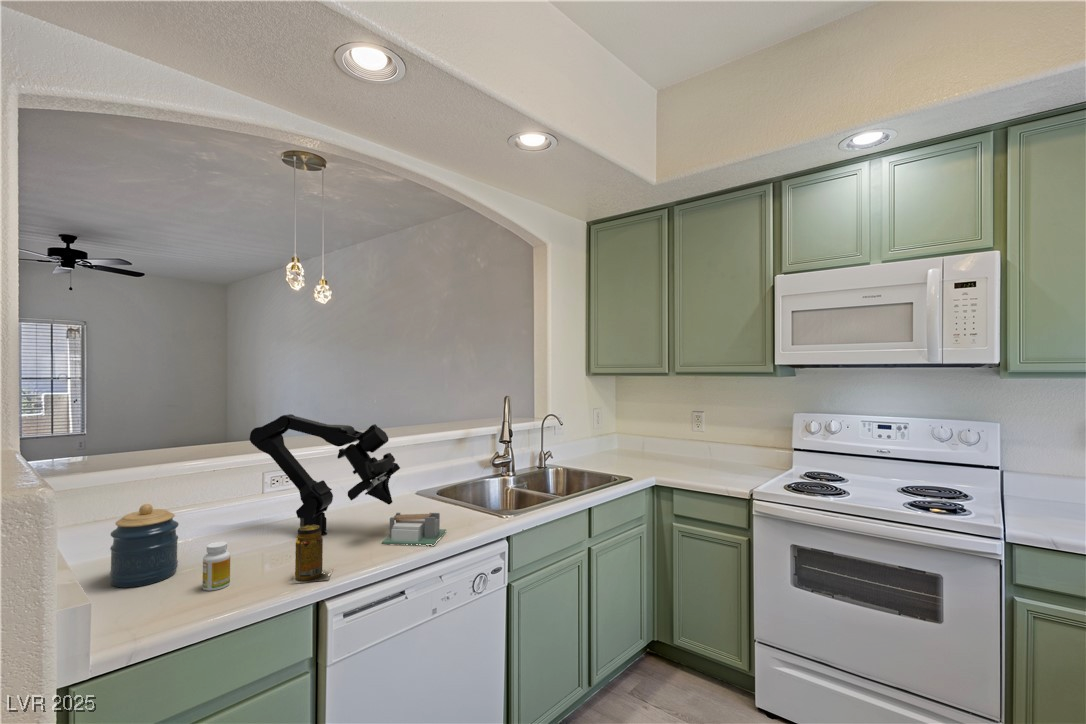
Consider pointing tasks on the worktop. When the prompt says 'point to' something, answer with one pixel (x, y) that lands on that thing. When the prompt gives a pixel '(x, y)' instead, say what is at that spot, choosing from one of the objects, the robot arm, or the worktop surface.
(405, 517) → the brown thin bar
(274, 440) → the robot arm
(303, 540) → the condiment
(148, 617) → the worktop surface
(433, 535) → the circuit board module
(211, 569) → the supplement bottle
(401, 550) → the worktop surface
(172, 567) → the canister
